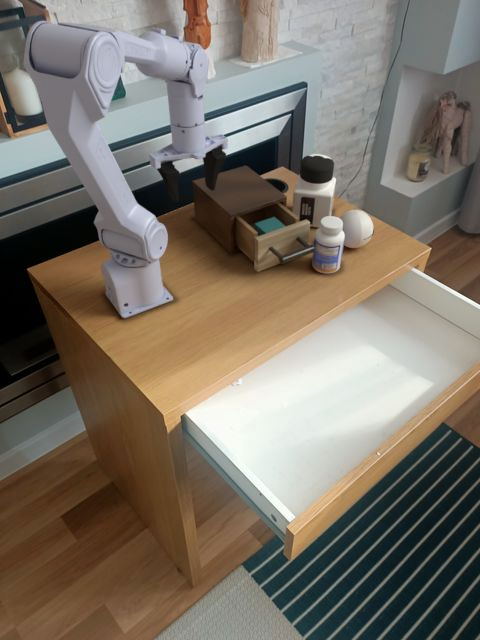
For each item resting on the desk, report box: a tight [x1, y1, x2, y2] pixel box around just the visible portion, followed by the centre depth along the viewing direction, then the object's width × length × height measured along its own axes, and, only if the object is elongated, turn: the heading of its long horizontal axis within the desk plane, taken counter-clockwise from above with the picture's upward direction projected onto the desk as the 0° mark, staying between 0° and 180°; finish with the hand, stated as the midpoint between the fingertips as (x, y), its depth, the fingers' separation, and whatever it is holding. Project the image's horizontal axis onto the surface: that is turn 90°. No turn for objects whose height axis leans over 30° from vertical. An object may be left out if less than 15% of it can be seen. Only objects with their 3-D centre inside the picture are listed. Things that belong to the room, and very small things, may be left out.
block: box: [255, 217, 286, 236], centre depth 104 cm, size 4×4×4 cm
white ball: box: [339, 209, 375, 249], centre depth 108 cm, size 10×7×7 cm
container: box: [291, 153, 337, 229], centre depth 112 cm, size 8×8×13 cm
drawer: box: [234, 203, 315, 273], centre depth 104 cm, size 18×11×7 cm, turn 33°
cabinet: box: [192, 165, 288, 254], centre depth 111 cm, size 15×13×9 cm
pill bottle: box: [311, 215, 345, 275], centre depth 102 cm, size 5×5×10 cm
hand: (192, 193), depth 102 cm, fingers open, 7 cm apart
